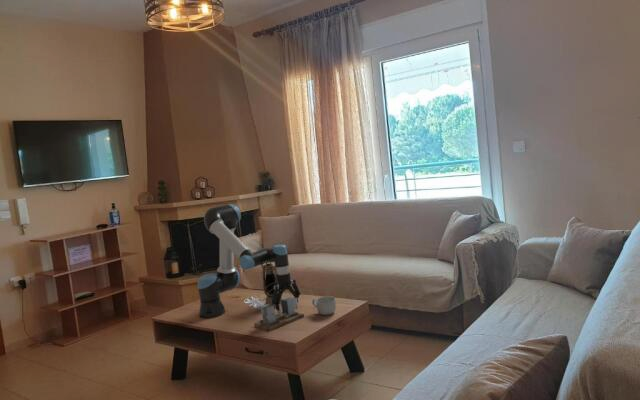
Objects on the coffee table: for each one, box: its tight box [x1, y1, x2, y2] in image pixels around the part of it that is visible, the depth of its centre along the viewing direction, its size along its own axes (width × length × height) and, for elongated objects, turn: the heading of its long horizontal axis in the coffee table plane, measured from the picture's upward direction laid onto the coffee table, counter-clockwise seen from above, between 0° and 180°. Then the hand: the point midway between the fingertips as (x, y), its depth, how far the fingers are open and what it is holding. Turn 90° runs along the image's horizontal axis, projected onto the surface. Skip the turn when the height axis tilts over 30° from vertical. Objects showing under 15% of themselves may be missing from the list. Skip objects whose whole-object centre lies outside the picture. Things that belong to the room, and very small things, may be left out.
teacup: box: [311, 295, 337, 316], centre depth 258 cm, size 14×11×8 cm
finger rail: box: [253, 303, 305, 332], centre depth 253 cm, size 14×23×10 cm, turn 132°
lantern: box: [260, 262, 283, 309], centre depth 283 cm, size 14×12×30 cm
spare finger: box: [281, 296, 296, 316], centre depth 257 cm, size 4×6×9 cm
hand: (288, 312), depth 258 cm, fingers open, 11 cm apart
